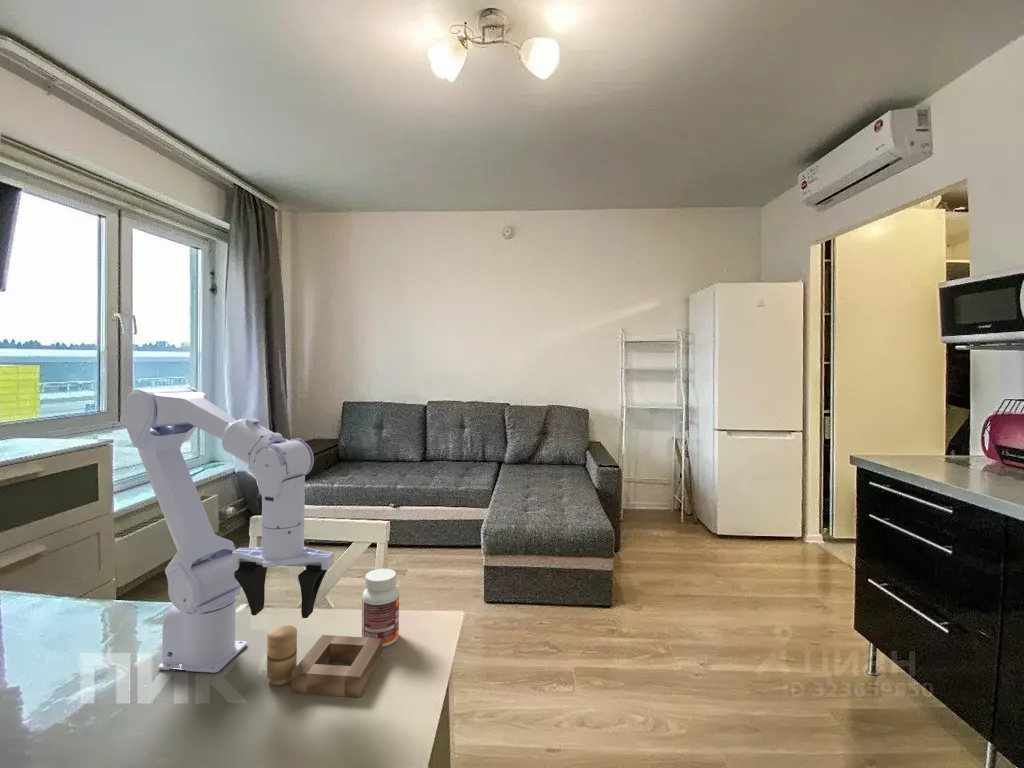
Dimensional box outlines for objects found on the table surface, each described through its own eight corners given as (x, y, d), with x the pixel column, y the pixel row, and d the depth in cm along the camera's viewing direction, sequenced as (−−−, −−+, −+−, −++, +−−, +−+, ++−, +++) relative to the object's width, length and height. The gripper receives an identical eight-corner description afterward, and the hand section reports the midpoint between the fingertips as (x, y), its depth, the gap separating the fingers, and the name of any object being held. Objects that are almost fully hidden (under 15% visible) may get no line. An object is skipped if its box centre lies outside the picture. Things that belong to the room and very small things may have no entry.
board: (291, 693, 71) (291, 672, 71) (322, 652, 81) (322, 634, 81) (359, 697, 70) (360, 676, 70) (382, 656, 80) (382, 638, 80)
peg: (261, 686, 72) (261, 639, 72) (275, 669, 76) (276, 624, 76) (288, 688, 72) (288, 641, 72) (301, 671, 76) (302, 626, 76)
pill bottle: (403, 642, 85) (405, 577, 84) (367, 653, 81) (368, 585, 81) (391, 626, 90) (392, 564, 89) (356, 635, 86) (357, 571, 86)
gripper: (218, 529, 70) (217, 624, 70) (319, 534, 69) (318, 630, 69) (248, 514, 77) (247, 601, 77) (339, 518, 76) (338, 606, 76)
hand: (282, 613), depth 74 cm, fingers open, 7 cm apart
